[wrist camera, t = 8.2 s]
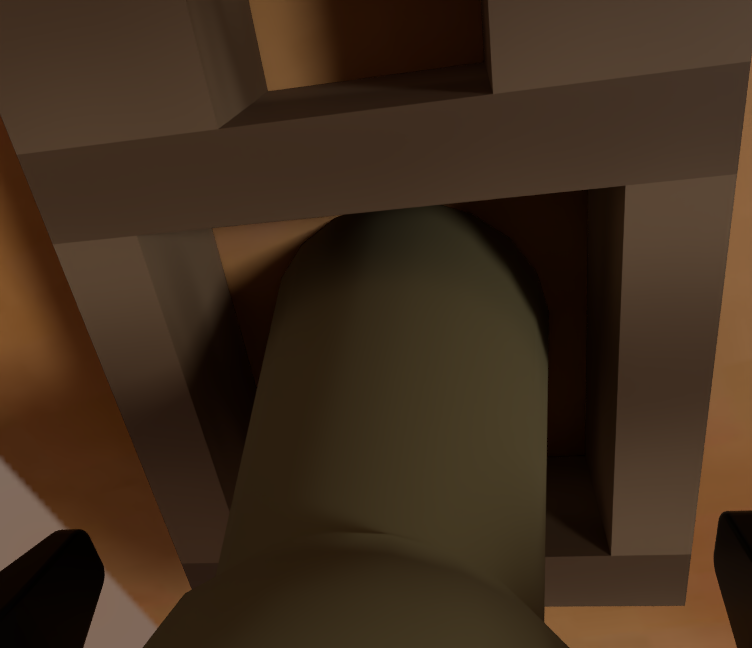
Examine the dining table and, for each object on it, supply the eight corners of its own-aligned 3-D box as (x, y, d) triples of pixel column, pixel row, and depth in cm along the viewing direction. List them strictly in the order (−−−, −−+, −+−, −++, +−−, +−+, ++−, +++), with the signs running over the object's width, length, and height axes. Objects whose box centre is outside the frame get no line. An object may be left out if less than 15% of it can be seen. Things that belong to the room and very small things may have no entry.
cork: (272, 421, 16) (14, 1091, 7) (276, 183, 13) (-186, 783, 4) (518, 455, 16) (615, 1203, 6) (580, 219, 13) (933, 970, 3)
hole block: (647, 500, 16) (684, 605, 14) (236, 513, 18) (199, 608, 15) (714, -421, 9) (829, -584, 6) (-14, -249, 10) (-175, -318, 8)
